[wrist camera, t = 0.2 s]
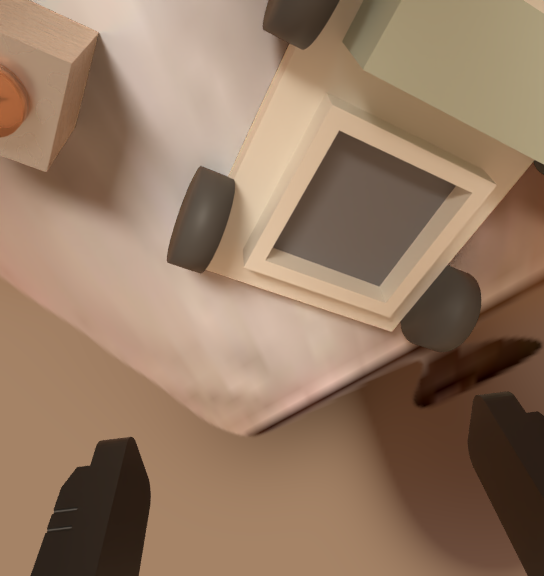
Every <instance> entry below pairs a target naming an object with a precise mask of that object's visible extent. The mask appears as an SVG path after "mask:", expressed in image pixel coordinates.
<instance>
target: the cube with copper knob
mask: <svg viewBox="0 0 544 576" xmlns="http://www.w3.org/2000/svg"><path fill="white" fill-rule="evenodd" d="M98 35H99V32H97V31H95V30H93V29H91V28H89V27H86V26H84V25H82V24H80V23H78V22H76V21H73V20H71V19H69V18H67V17H65V16H63V15H60V14H58V13H56V12H54V11H52V10H50V9H47V8H45V7H43V6H41V5H39V4H37V3H34V2H32V1H30V0H0V156H2V157H5V158H8V159H11V160H13V161H16V162H19V163H22V164H25V165H27V166H30V167H33V168H36V169H38V170H41V171H44V172H47V171H48V169H49V168H50V166H51V165H52V163H53V161H54V160H55V158H56V157H57V155H58V154H59V152H60V150H61V149H62V147H63V146H64V144H65V143H66V141H67V139H68V138H69V136H70V135H71V133H72V132H73V130H74V128H75V127H76V123H77V119H78V115H79V111H80V107H81V103H82V99H83V95H84V91H85V87H86V83H87V79H88V75H89V71H90V67H91V63H92V59H93V55H94V51H95V47H96V43H97V39H98Z"/></svg>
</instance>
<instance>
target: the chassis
mask: <svg viewBox="0 0 544 576" xmlns="http://www.w3.org/2000/svg"><path fill="white" fill-rule="evenodd" d="M263 29H264V30H265V31H267V32H269V33H271V34H273V35H274V36H276V37H278V38H280V39H282V40H284V41H286V42H288V43H289V45H288V48H287V50H286V52H285V54H284V56H283V58H282V61H281V63H280V65H279V67H278V69H277V71H276V74H275V76H274V78H273V80H272V82H271V84H270V87H269V89H268V91H267V93H266V95H265V97H264V100H263V102H262V104H261V106H260V108H259V110H258V113H257V115H256V117H255V119H254V121H253V123H252V126H251V128H250V130H249V132H248V134H247V137H246V139H245V141H244V143H243V145H242V147H241V150H240V152H239V154H238V156H237V158H236V160H235V163H234V165H233V167H232V169H231V171H230V173H229V176H228V177H227V176H224V175H222V174H220V173H217V172H215V171H212V170H210V169H207V168H205V167H202V166H200V167H199V168H198V170H197V171H196V173H195V175H194V177H193V179H192V181H191V183H190V185H189V187H188V190H187V192H186V195H185V197H184V200H183V202H182V205H181V208H180V211H179V214H178V216H177V219H176V223H175V226H174V229H173V232H172V236H171V240H170V244H169V248H168V254H167V262H168V263H170V264H173V265H176V266H179V267H182V268H185V269H188V270H191V271H194V272H197V273H203V272H204V271H205V270H207V271H210V272H213V273H216V274H219V275H222V276H225V277H228V278H231V279H234V280H237V281H240V282H243V283H246V284H249V285H252V286H255V287H258V288H261V289H264V290H267V291H270V292H273V293H276V294H279V295H282V296H285V297H288V298H291V299H294V300H297V301H300V302H303V303H306V304H309V305H312V306H315V307H318V308H321V309H324V310H327V311H330V312H333V313H336V314H339V315H342V316H345V317H348V318H351V319H354V320H357V321H360V322H363V323H366V324H369V325H372V326H375V327H378V328H381V329H384V330H387V331H390V332H392V331H393V330H394V328H395V327H396V326H397V325H398V324H399V322H400V323H401V329H402V332H403V334H404V336H405V337H406V339H407V340H408V341H410V342H411V343H413V344H416V345H419V346H422V347H425V348H428V349H431V350H434V351H437V352H447V351H451V350H453V349H455V348H457V347H458V346H459V345H461V344H462V343H463V342H464V341H465V340H466V339H467V338H468V336H469V335H470V334H471V332H472V330H473V329H474V327H475V325H476V323H477V320H478V317H479V313H480V309H481V292H480V288H479V285H478V283H477V281H476V280H475V278H474V277H472V276H471V275H470V274H468V273H466V272H463V271H461V270H458V269H456V268H453V267H451V266H448V264H449V262H450V261H451V260H452V259H453V258H454V256H455V255H456V254H457V253H458V252H459V250H460V249H461V248H462V247H463V246H464V244H465V243H466V242H467V241H468V240H469V238H470V237H471V236H472V235H473V234H474V232H475V231H476V230H477V229H478V228H479V226H480V225H481V224H482V223H483V222H484V220H485V219H486V218H487V217H488V216H489V214H490V213H491V212H492V211H493V210H494V208H495V207H496V206H497V205H498V204H499V202H500V201H501V200H502V199H503V198H504V196H505V195H506V194H507V193H508V192H509V190H510V189H511V188H512V187H513V186H514V184H515V183H516V182H517V181H518V180H519V178H520V177H521V176H522V175H523V174H524V172H525V171H526V170H527V169H528V168H529V166H530V165H531V164H532V163H533V162H534V165H535V167H536V168H537V170H538V171H539V172H541V173H542V174H544V0H269V1H268V4H267V7H266V11H265V15H264V20H263Z"/></svg>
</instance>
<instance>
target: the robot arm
mask: <svg viewBox="0 0 544 576" xmlns="http://www.w3.org/2000/svg"><path fill="white" fill-rule="evenodd" d="M468 449H469V455H470V459H471V462H472V465H473V467H474V469H475V471H476V473H477V475H478V477H479V479H480V481H481V483H482V485H483V487H484V489H485V491H486V493H487V495H488V497H489V499H490V501H491V503H492V505H493V507H494V509H495V511H496V513H497V515H498V517H499V519H500V521H501V523H502V525H503V527H504V529H505V531H506V533H507V535H508V537H509V539H510V541H511V543H512V545H513V547H514V549H515V551H516V553H517V555H518V557H519V559H520V561H521V563H522V565H523V567H524V569H525V571H526V573H527V575H528V576H544V416H543V415H542V414H541V413H539V412H530V413H526V412H525V410H524V409H523V408H522V406H521V405H520V403H519V402H518V400H517V399H516V397H515V396H514V395H513V394H512V393H510V392H500V393H492V394H484V395H476V396H475V397H474V400H473V406H472V413H471V420H470V428H469V435H468ZM150 498H151V493H150V483H149V479H148V476H147V473H146V470H145V467H144V464H143V461H142V459H141V456H140V453H139V450H138V447H137V444H136V442H135V440H134V438H133V437H127V438H118V439H110V440H103V441H99V442H98V444H97V446H96V449H95V452H94V455H93V459H92V462H91V465H90V466H84V467H77V468H76V469H75V471H74V472H73V473H72V475H71V476H70V477H69V478H68V480H67V481H66V482H65V484H64V485H63V486H62V488H61V490H60V493H59V496H58V499H57V502H56V505H55V507H54V514H52V516H51V519H50V522H49V525H48V528H47V530H48V531H47V533H45V536H44V539H43V542H42V545H41V548H40V551H39V554H38V556H37V559H36V562H35V565H34V568H33V571H32V573H31V576H139V570H140V564H141V557H142V552H143V546H144V539H145V533H146V528H147V521H148V515H149V509H150Z"/></svg>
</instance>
